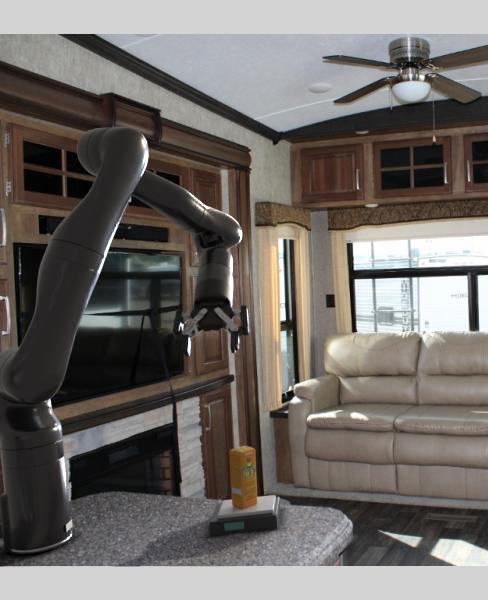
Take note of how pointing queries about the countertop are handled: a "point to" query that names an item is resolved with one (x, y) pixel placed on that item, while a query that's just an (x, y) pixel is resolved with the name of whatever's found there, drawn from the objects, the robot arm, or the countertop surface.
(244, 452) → the supplement box
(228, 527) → the scale
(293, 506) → the countertop surface
